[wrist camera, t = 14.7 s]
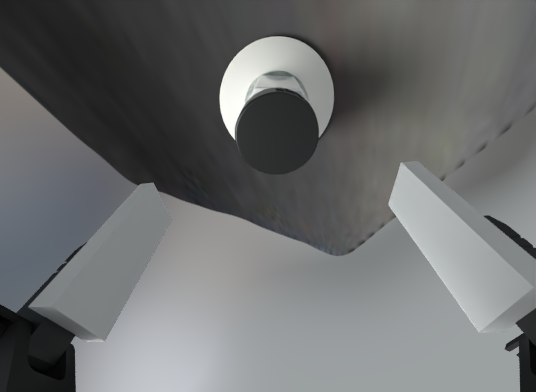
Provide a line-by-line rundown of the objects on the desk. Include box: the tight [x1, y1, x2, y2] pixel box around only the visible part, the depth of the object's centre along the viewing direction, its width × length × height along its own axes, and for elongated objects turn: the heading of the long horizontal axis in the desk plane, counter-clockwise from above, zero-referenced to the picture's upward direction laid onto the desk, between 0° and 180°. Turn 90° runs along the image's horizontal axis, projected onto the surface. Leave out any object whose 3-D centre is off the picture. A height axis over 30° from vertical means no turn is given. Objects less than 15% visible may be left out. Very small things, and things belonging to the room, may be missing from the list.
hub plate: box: [220, 36, 334, 139], centre depth 30 cm, size 16×16×1 cm
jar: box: [234, 75, 319, 175], centre depth 25 cm, size 9×8×12 cm
